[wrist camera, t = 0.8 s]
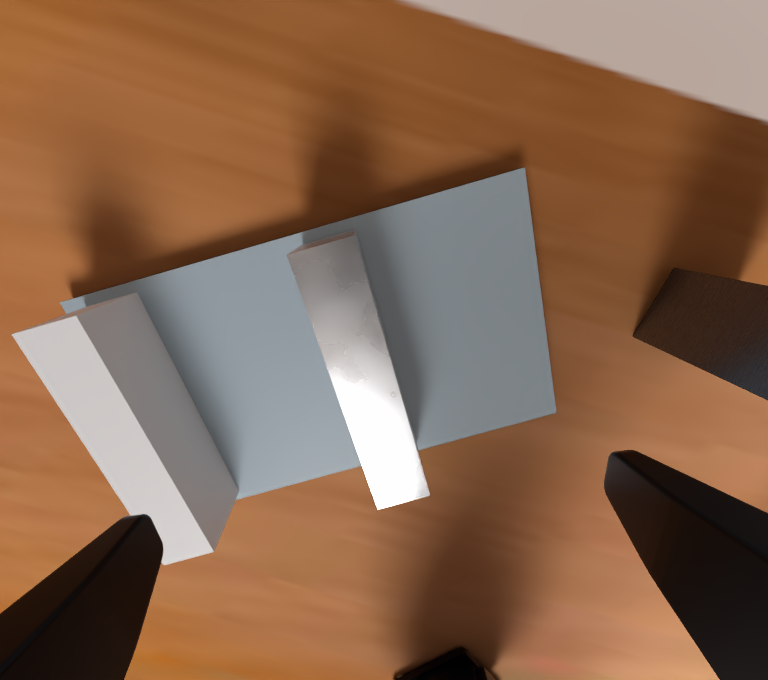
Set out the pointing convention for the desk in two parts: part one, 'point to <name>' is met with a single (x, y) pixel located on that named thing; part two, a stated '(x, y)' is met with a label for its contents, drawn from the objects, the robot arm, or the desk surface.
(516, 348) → the vise base
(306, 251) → the bar
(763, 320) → the steel block
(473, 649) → the desk surface
